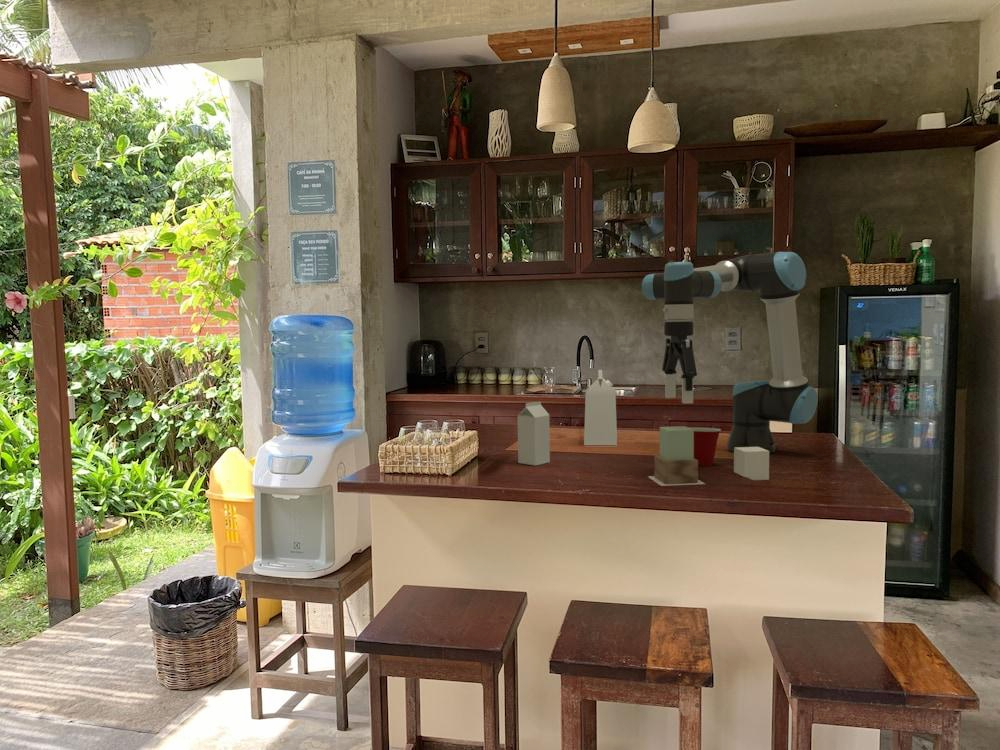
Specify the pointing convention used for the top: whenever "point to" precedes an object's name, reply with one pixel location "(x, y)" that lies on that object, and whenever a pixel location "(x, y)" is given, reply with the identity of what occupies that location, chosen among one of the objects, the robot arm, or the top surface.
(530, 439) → the milk carton
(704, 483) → the plate
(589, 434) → the milk
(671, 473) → the walnut base brick
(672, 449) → the sage brick
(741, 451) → the cream brick
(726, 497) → the top surface
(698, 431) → the plastic cup
